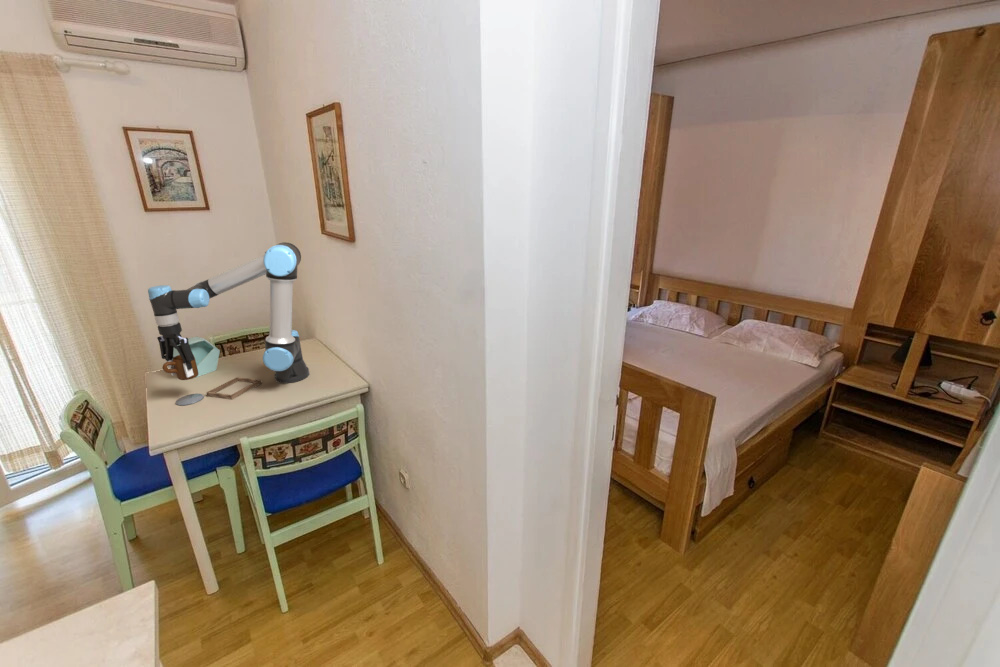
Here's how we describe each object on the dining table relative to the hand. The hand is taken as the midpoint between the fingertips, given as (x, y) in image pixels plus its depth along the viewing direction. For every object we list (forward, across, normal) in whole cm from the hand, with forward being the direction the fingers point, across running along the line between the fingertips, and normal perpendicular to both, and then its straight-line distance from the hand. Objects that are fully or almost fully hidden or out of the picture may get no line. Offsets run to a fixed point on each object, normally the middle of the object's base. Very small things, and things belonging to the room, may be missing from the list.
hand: (182, 375), depth 184 cm
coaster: (+12, 0, 0) cm, 12 cm away
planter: (+12, +22, -24) cm, 35 cm away
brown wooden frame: (+12, -11, -13) cm, 21 cm away
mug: (+2, +1, 0) cm, 2 cm away
